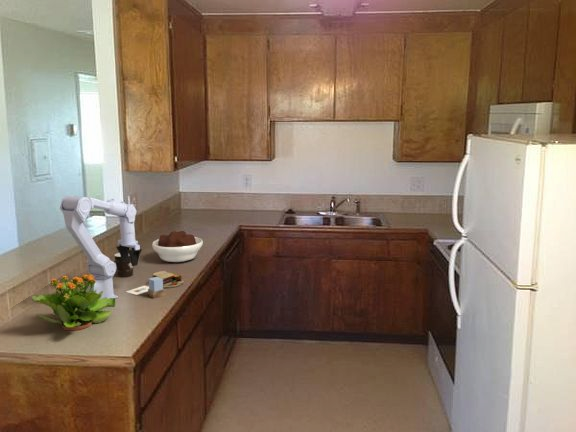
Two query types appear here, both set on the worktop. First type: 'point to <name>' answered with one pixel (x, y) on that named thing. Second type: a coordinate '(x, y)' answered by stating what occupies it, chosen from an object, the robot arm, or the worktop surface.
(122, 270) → the coffee mug
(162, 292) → the walnut block
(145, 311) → the worktop surface
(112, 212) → the robot arm
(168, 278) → the toy sandwich meal
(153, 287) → the blue block
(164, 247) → the bowl of brownies
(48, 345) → the worktop surface
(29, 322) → the worktop surface
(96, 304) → the potted flower
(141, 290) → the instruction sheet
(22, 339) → the worktop surface
